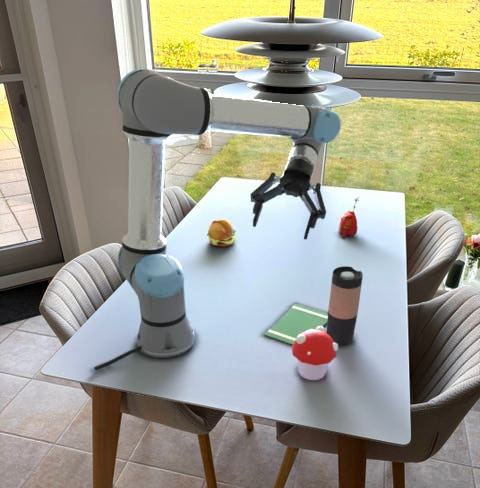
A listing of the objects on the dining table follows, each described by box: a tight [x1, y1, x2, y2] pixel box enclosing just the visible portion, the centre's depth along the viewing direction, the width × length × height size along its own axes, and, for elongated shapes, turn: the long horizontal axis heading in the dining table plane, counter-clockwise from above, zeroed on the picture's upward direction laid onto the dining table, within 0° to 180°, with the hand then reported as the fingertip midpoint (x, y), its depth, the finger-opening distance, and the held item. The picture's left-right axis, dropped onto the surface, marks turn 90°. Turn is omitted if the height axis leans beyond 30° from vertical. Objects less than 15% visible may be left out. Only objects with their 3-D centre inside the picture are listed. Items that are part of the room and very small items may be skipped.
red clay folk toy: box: [338, 196, 360, 239], centre depth 190 cm, size 8×7×15 cm
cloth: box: [264, 303, 328, 346], centre depth 143 cm, size 19×12×1 cm, turn 148°
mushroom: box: [291, 326, 339, 381], centre depth 122 cm, size 11×11×12 cm
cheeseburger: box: [206, 218, 237, 247], centre depth 187 cm, size 10×11×10 cm
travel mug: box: [325, 265, 364, 347], centre depth 132 cm, size 8×8×20 cm
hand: (279, 230), depth 130 cm, fingers open, 13 cm apart
